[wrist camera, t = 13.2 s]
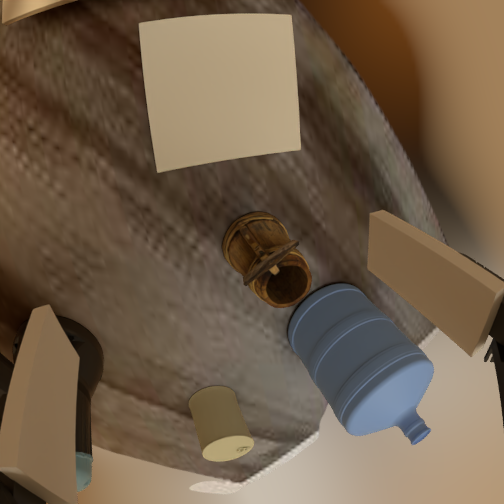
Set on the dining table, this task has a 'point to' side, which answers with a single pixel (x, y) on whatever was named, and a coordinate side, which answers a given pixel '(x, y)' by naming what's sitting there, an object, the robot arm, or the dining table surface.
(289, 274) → the wooden mug
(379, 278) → the robot arm
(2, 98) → the dining table surface
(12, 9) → the lid
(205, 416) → the can
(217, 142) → the mat
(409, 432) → the water jug
